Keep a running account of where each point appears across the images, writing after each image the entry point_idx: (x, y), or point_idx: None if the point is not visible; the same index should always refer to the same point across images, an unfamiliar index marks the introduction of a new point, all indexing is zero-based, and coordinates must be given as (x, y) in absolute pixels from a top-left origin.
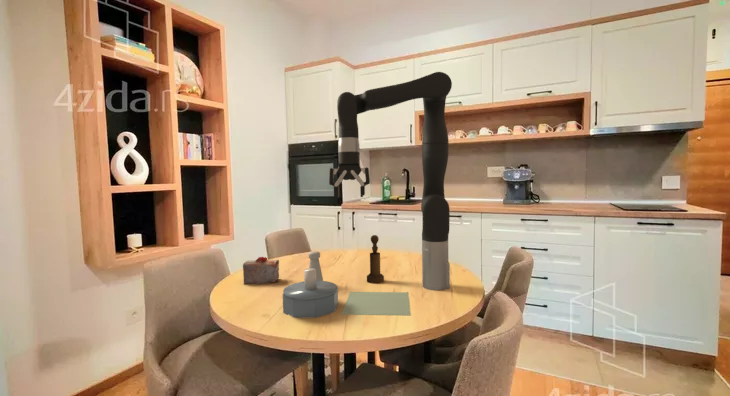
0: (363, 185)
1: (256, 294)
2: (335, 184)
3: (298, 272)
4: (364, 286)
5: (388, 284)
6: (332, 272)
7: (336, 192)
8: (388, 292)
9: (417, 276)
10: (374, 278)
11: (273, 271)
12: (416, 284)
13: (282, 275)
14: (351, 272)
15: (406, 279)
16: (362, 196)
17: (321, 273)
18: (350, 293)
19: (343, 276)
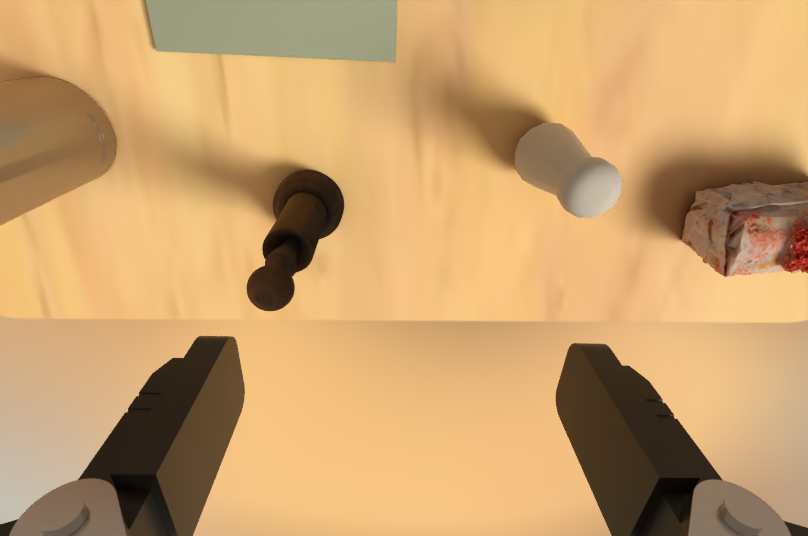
0: (57, 492)
1: (769, 47)
2: (764, 525)
3: (605, 314)
4: (347, 147)
5: (256, 171)
6: (482, 313)
7: (635, 404)
8: (237, 51)
9: (161, 266)
10: (306, 177)
11: (730, 200)
12: (147, 170)
13: (663, 281)
14: (413, 313)
15: (196, 231)
16: (200, 336)
17: (527, 162)
18: (392, 38)
19: (438, 268)
